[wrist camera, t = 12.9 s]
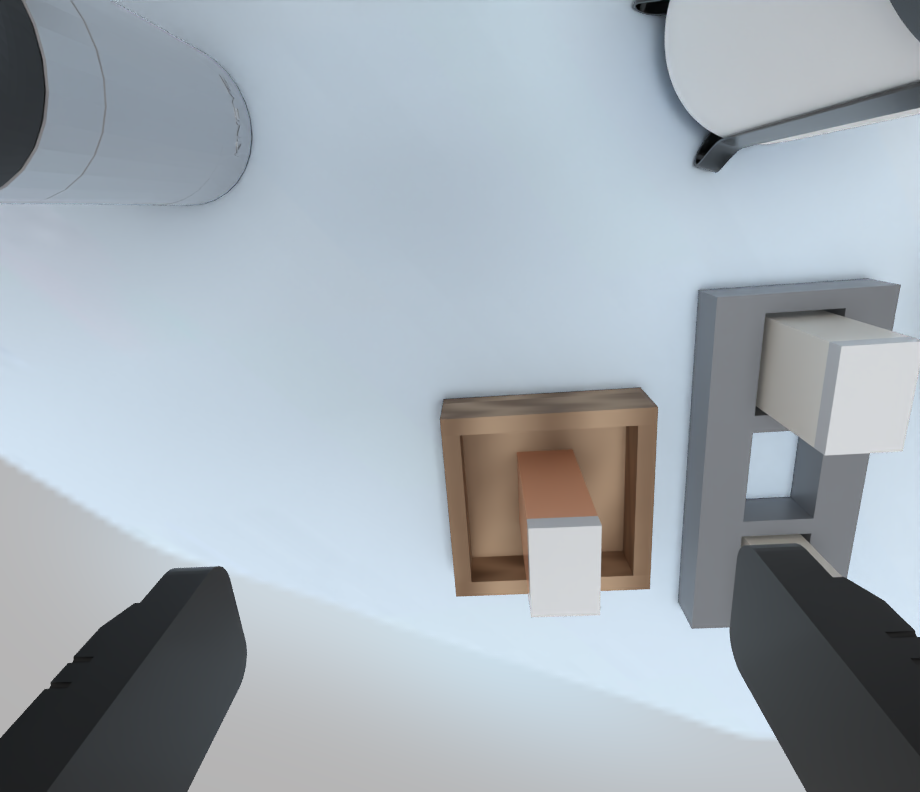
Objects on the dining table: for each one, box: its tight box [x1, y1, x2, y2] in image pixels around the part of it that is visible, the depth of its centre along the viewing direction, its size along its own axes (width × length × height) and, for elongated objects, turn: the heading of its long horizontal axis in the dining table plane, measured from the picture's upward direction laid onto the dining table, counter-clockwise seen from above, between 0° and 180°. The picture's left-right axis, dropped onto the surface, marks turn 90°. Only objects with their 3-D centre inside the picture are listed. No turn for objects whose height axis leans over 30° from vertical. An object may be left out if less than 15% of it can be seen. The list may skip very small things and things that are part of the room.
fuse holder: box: [678, 279, 901, 629], centre depth 39 cm, size 25×11×3 cm, turn 4°
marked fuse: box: [517, 449, 602, 617], centre depth 36 cm, size 6×4×10 cm, turn 4°
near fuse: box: [756, 310, 920, 455], centre depth 33 cm, size 6×4×10 cm, turn 4°
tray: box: [440, 388, 658, 597], centre depth 40 cm, size 14×14×4 cm
